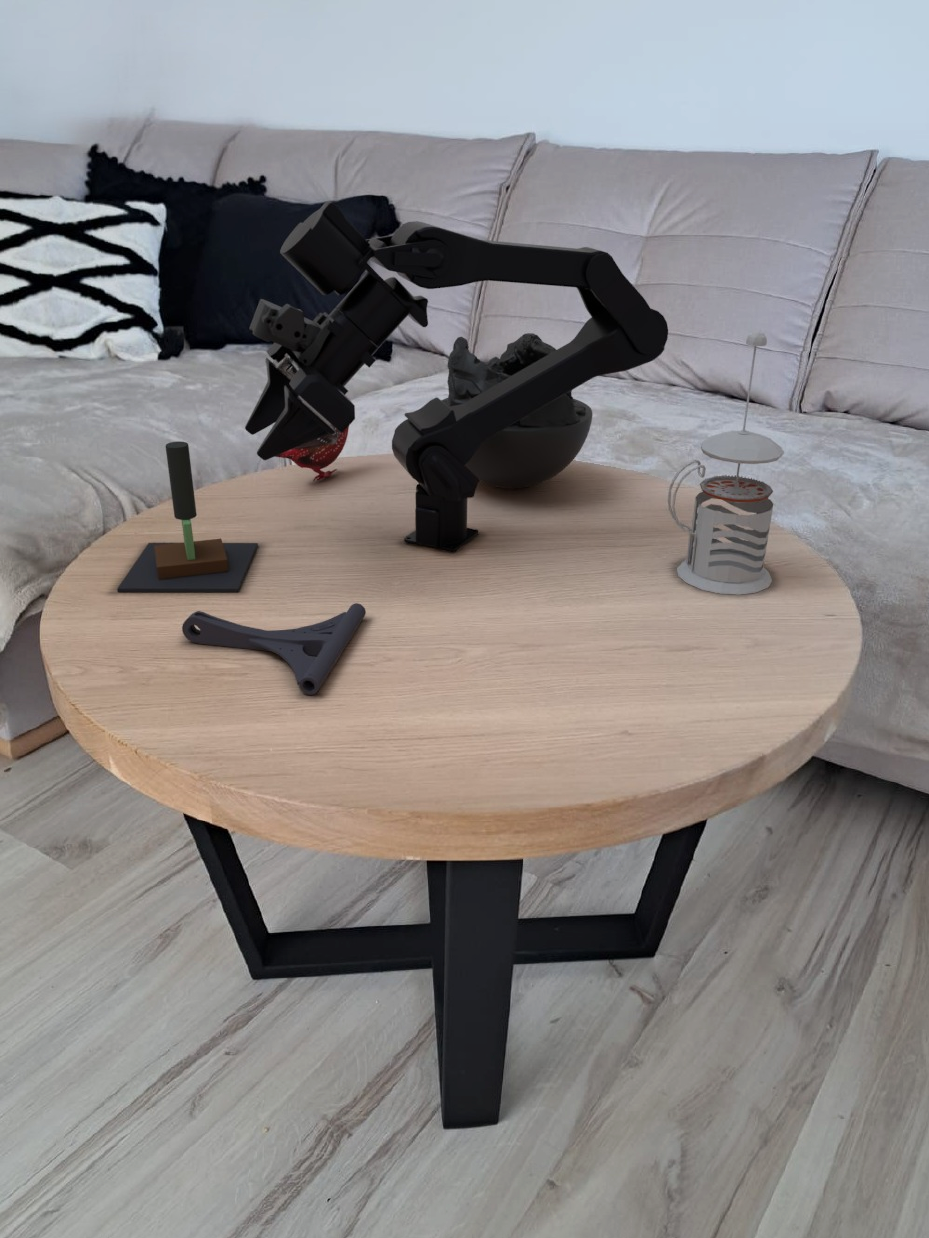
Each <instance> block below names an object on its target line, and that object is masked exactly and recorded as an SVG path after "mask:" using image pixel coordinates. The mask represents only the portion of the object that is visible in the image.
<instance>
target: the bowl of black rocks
mask: <svg viewBox="0 0 929 1238" xmlns="http://www.w3.org/2000/svg"><path fill="white" fill-rule="evenodd" d="M452 346H453V347H452V351H451V352H449V356H448V358H447V359H448V360H447V369H448V374H447V386H448V388H447V389H448V395H447V397H445V398H443V399H440V400H441V401H442V402H444V403H445V404H446V405H447V406H448V407H451V406H456V405H460V404H463V403H465V402H467V401H469V400H470V399H472V398H474V397H476V396H477V395H479V394H481V393H483V392H484V391H486V390H488V389H490V388H491V387H493V386H495V385H497V384H498V383H500V382H502V381H503V380H505V379H507V378H509V377H510V376H512V375H514V374H516V373H517V372H519V371H521V370H523V369H524V368H526V367H528V366H530V365H531V364H533V363H535V362H537V361H538V360H540V359H542V358H543V357H545V356H547V355H549V354H550V353H552V352H554V351H556V350H557V348H556V347H554V346H553V345H551V344H548V343H547V342H544V341H543V340H542V339H541V337H540V336H538V334H536V333H534V332H529V333H528V332H527V333H524V334H522V335H521V336H520V337H518V338H517V339H516V340H515V341H512V342H510V343H508V344H507V346H506V349H505V351H504V352H503V353H502V354H501V355H500V357H498V356H494V357H492V358H490V359H489V361H488V362H487V363H485V362H484V361H481V360H480V359H479V358H478V357H477V356H476V355H475V354H473V353H472V352H471V351H470V349H469V348H470V347H469V341H468V339H467V338H465V337H463V336H458V337H456V339H455V341H454V342H453V345H452ZM572 391H573V390H571V391H569V392H568V393H566V394H564V395H563V396H561V397H559V398H557V399H556V400H554V401H552V402H550V403H549V404H547V405H545V406H544V407H542V408H540V409H538V410H537V411H535V412H533V413H531V414H530V415H528V416H526V417H525V418H523V419H521V420H519V421H518V422H516V423H514V424H512V425H511V426H509V427H507V428H505V429H504V430H502V431H500V432H499V433H497V434H495V435H493V436H492V437H490V438H488V439H487V440H486V441H484V442H483V443H482V445H481V446H480V447H479V449H478V450H477V451H476V453H475V454H474V455H473V457H472V458H471V459H470V461H469V462H468V463H467V464H466V465H465V466H466V467H467V468H468V469H469V470H470V471H471V472H472V473H473V474H474V475H475V476H476V477H477V478H478V479H479V482H481V483H483V484H486V485H488V486H492V487H494V488H499V489H500V488H501V489H524V488H529V487H534V486H536V485H540V484H542V483H545V482H547V481H549V480H550V479H553V478H554V477H556V476H557V475H558V474H560V473H561V472H563V471H564V470H565V469H566V468H567V467H568V466H569V465H570V464H571V463H572V462H573V461H574V460H575V459H576V457H577V456H578V455H579V453H580V451H581V449H582V448H583V446H584V444H585V443H586V440H587V438H588V435H589V433H590V429H591V425H592V420H593V415H594V414H593V409H592V408H591V407H590V406H589V405H588V404H586V403H585V402H583V401H581V400H579V399H577V398H574V396H572Z"/></svg>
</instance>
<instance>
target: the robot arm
mask: <svg viewBox="0 0 929 1238" xmlns="http://www.w3.org/2000/svg"><path fill="white" fill-rule="evenodd" d="M279 253H280V255H281V256H282V257H284V259H286V260H287V262H289V264H291V266H293V267H294V268H295V269H296V270H297V271H298V272H299V273H300V274H301V275H302V276H303V277H304V278H305V279H306V280H307V281H308V282H309V283H310V284H311V285H312V286H313V287H314V288H315V289H316V290H317V291H318V292H319V293H321V294H322V296H327V295H330V294H332V293H333V292H334V293H335V294H336V295H337V296H342V295H344V294H346V293H347V292H348V291H349V292H348V293H347V294H346V295H345V296H344V297H343V298H342V300H341V301H340V302H339V303H338V304H337V305H336V307H335V308H333V310H332V311H331V312H330V313H329V314H328V313H327V312H325V311H324V312H319V314H317V316H315V318H314V319H313V320H311V319H309V318H308V317H305V314H304V311H303V310H302V309H301V308H296V307H293V306H291V304H289V303H286V304H284V305H283V306H280V305H278V304H275V303H273V302H271V301H268V300H267V299H263V298H259V301H258V303H257V304H258V305H257V307H256V308H255V309H256V310H255V312H254V315H253V317H252V320H251V323H250V324H249V327H248V328H249V331H252V335H253V336H254V337H256V338H258V339H259V340H262V341H264V342H267V343H269V342H273V344H272V345H270V346H269V348H268V349H267V350H266V353H267V355H268V356H269V357H270V358H271V359H272V360H273V361H271V360H270V359H269V358H268V357H265V359H264V360H265V361H264V362H265V365H266V373H267V375H266V376H267V382H266V384H265V386H264V388H263V390H262V393H261V394H260V396H259V399H258V401H257V402H256V404H255V406H254V408H253V410H252V412H251V413H250V416H249V417H248V418H249V419H248V420H247V421H246V424H245V426H244V430H246V432H247V433H248V434H249V435H251V436H252V435H253V436H254V435H256V434H257V433H260V432H261V431H262V430H265V429H267V428H268V427H270V426H272V427H271V428H270V430H269V431H268V433H267V434H266V436H265V437H264V438H263V441H262V442H261V444H260V446H259V448H258V449H257V451H256V455H257V456H258V457H259V458H260V459H261V460H263V461H268V460H270V459H272V458H276V457H275V456H277V455H279V454H282V453H284V452H286V451H288V450H291V449H293V448H295V447H298V446H300V445H303V444H305V443H308V442H310V441H313V440H315V439H318V438H321V437H323V436H326V435H329V434H331V435H333V434H335V433H336V431H335V430H334V429H333V427H332V426H331V425H333V426H334V427H335V428H336V429H337V430H339V431H340V432H341V433H343V432H344V431H345V429H346V428H347V427H348V426H349V427H350V425H351V424H352V423H353V422H354V421H355V420H356V412H355V411H356V405H355V404H354V403H353V402H352V400H350V399H349V397H348V396H347V393H348V392H349V390H348V389H347V388H346V387H345V386H346V385H347V384H348V383H349V382H350V381H351V380H352V379H353V378H354V376H355V375H356V374H357V373H358V372H359V371H360V370H361V368H362V367H363V366H364V365H365V366H367V368H371V366H373V364H374V363H375V362H376V358H374V357H373V356H374V354H375V353H376V352H377V351H378V350H379V348H380V347H381V346H382V345H383V344H384V343H385V342H386V341H387V340H388V338H389V337H390V336H391V335H392V334H393V333H394V332H395V330H397V328H398V327H399V326H400V325H401V324H402V323H403V321H404V320H406V318H407V317H409V318H410V319H411V320H412V321H413V322H414V323H415V324H417V325H419V326H421V327H422V328H426V327H428V325H429V319H428V304H429V299H428V298H426V297H424V296H423V295H413V294H412V293H411V292H410V291H409V290H408V289H407V288H406V287H405V286H404V285H403V284H402V283H401V282H400V281H399V280H398V278H396V277H395V276H392V277H388V278H386V279H383V278H382V276H381V275H380V274H379V273H377V272H376V271H375V269H374V268H373V267H371V266H370V264H369V263H368V262H369V261H370V262H373V263H374V264H376V265H378V266H380V267H382V268H383V269H385V270H387V271H389V272H393V273H396V274H397V275H398V276H399V277H401V278H403V280H406V281H408V282H410V283H412V284H413V285H415V286H417V287H419V288H423V289H426V290H435V289H444V288H453V287H454V288H455V287H460V286H465V285H469V284H472V283H473V284H474V283H479V282H486V281H487V282H489V281H490V282H502V283H503V282H504V283H513V284H514V283H515V284H526V285H527V284H529V285H541V286H554V287H565V288H576V290H577V291H578V293H579V296H580V298H581V300H582V302H583V305H584V307H585V309H586V311H587V312H588V314H589V315H590V318H589V319H588V320H587V321H586V322H585V323H584V324H583V326H582V327H581V329H579V331H578V332H577V334H576V335H575V337H574V338H573V339H572V340H570V341H569V342H568V343H566V344H564V345H563V346H560V347H559V348H556V351H554V352H552V353H550V354H549V355H547V356H545V357H543V358H542V359H540V360H538V361H537V362H535V363H533V364H531V365H530V366H528V367H526V368H524V369H523V370H521V371H519V372H517V373H516V374H514V375H512V376H510V377H509V378H507V379H505V380H503V381H502V382H500V383H498V384H497V385H495V386H493V387H491V388H490V389H488V390H486V391H484V392H483V393H481V394H479V395H477V396H476V397H474V398H472V399H470V400H469V401H467V402H465V403H463V404H460V405H456V406H451V407H448V406H447V405H446V404H445V403H444V402H442V401H441V400H442V399H440V397H437V396H435V397H434V398H431V400H429V401H427V402H426V403H425V404H424V405H423V406H422V407H420V408H418V409H416V410H413V411H409V412H405V413H404V417H405V418H406V419H404V420H403V421H402V422H400V424H398V425H397V426H396V427H395V429H394V434H393V436H392V439H391V450H392V453H393V456H394V458H395V459H396V460H397V462H398V463H399V464H400V465H401V466H402V468H403V469H404V470H405V471H406V472H407V474H409V476H410V477H411V478H412V479H413V480H414V481H416V482H417V484H416V485H415V509H414V515H415V516H414V520H415V523H414V524H415V525H414V527H415V529H414V531H412V532H411V533H409V534H408V535H406V536H405V537H404V538H403V542H404V543H405V544H408V545H413V546H419V547H423V548H427V549H433V550H437V551H442V552H447V553H457V551H459V550H460V549H461V548H463V547H464V546H466V545H467V544H468V543H470V542H471V541H473V540H474V539H475V538H476V537H478V536H479V529H476V528H471V527H468V499H471V498H474V496H475V493H476V491H477V488H478V485H479V482H480V481H479V479H478V478H477V477H476V476H475V475H474V474H473V473H472V472H471V471H470V470H469V469H468V468H467V467H466V466H465V465H466V464H467V463H468V462H469V461H470V459H471V458H472V457H473V455H474V454H475V453H476V451H477V450H478V449H479V447H480V446H481V445H482V443H483V442H484V441H486V440H487V439H488V438H490V437H492V436H493V435H495V434H497V433H499V432H500V431H502V430H504V429H505V428H507V427H509V426H511V425H512V424H514V423H516V422H518V421H519V420H521V419H523V418H525V417H526V416H528V415H530V414H531V413H533V412H535V411H537V410H538V409H540V408H542V407H544V406H545V405H547V404H549V403H550V402H552V401H554V400H556V399H557V398H559V397H561V396H563V395H564V394H566V393H568V392H569V391H571V390H572V391H573V390H575V389H576V388H578V387H580V386H582V385H584V384H585V383H587V382H589V381H590V380H592V379H594V378H597V377H600V376H605V375H611V374H616V373H620V372H627V371H629V370H632V369H635V368H638V367H640V366H643V365H646V364H648V363H651V362H652V361H655V360H656V359H658V358H659V357H660V356H661V355H662V354H663V352H664V351H665V349H666V344H667V342H668V341H667V340H668V336H669V326H668V322H667V321H666V318H665V315H663V314H662V313H661V312H660V311H658V310H656V309H653V308H652V307H650V305H649V303H648V302H647V300H646V299H645V298H644V296H643V295H642V294H641V293H640V292H639V290H638V289H637V288H636V287H635V286H634V285H633V283H631V282H630V280H629V279H628V278H627V277H626V276H625V275H624V274H623V272H622V270H621V269H620V267H619V265H618V264H617V263H616V261H615V259H614V257H613V256H612V255H611V254H610V253H609V252H607V251H604V250H600V249H596V248H593V247H588V246H583V247H579V248H575V247H574V248H573V247H566V246H565V247H563V246H552V245H542V244H531V243H521V242H512V241H511V242H509V241H499V240H489V239H488V240H487V239H479V238H477V237H473V236H470V235H465V234H464V233H459V232H456V231H454V230H450V229H448V228H443V227H440V226H436V225H433V224H430V223H427V222H423V221H418V220H414V221H413V220H412V221H407V222H405V223H403V224H402V225H401V226H399V227H398V228H397V229H396V230H395V231H394V233H393V234H391V235H386V236H385V235H384V236H379V237H372V236H371V238H367V239H366V238H364V236H363V235H362V234H361V233H360V232H359V231H358V230H357V228H355V227H354V226H353V225H352V224H351V223H350V222H349V221H348V219H347V218H346V216H345V214H344V213H343V211H342V210H341V209H340V208H339V207H338V206H337V205H336V204H335V203H334V202H332V201H329V200H327V201H325V202H324V203H323V205H322V206H321V207H320V208H319V209H317V210H316V211H314V212H312V213H311V214H310V215H309V216H308V217H307V218H306V219H305V220H304V221H303V222H302V221H301V222H299V223H298V224H297V225H296V226H295V228H293V230H292V231H291V232H290V234H289V235H288V236H287V238H286V239H285V240H284V242H283V244H282V246H281V248H280V250H279ZM363 274H364V275H363ZM362 275H363V276H362ZM350 289H351V290H350Z"/></svg>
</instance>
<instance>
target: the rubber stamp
mask: <svg viewBox="0 0 929 1238" xmlns="http://www.w3.org/2000/svg"><path fill="white" fill-rule="evenodd" d="M165 453H166V462H167V468H168V469H167V470H168V476H169V483H170V484H169V485H170V493H171V501H172V508H173V515H174V516H173V517H174V518H175V519H176V520H180V521H181V528H182V535H183V542H173V543H174V544H165V545H156V546H154V549H155V557H156V565H157V572H158V579H167V578H176V577H185V576H193V575H202V574H211V573H219V572H228V562H227V557H226V554H225V550H224V547H223V543H224V542H223V540H222V538H212V539H204V540H194V533H193V526H192V521H191V520H192V519H194V518H196V517H197V507H196V499H195V491H194V481H193V472H192V464H191V456H190V447H189V443H188V442H186V441H178V440H177V441H170V442H167V443H165Z"/></svg>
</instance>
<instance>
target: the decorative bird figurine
mask: <svg viewBox="0 0 929 1238" xmlns="http://www.w3.org/2000/svg"><path fill="white" fill-rule="evenodd" d="M331 426H332V427H333V429H334V430H335V431H336V433H335V434H333V435H331V434H329V435H326V436H323V437H321V438H318V439H315V440H313V441H310V442H308V443H305V444H303V445H300V446H298V447H295V448H293V449H291V450H288V451H286V452H284V453H282V454H279V455H277V456H275V457H274V458H280V459H281V458H283V459H288V460H290V461H292V462H293V463H294V464H296V466H298V467H299V468H301V469H303V468H304V469H310V470H312V472H314V473H316V474H318V475H316V476H315V477H314V478H313V480H312V482H315V481H320V480H322V479H325V478H330V476H331V475H332V474H333V473H334V472H336V471H337V470H338V469H337V468H334V469H333V470H327V471H323V470H324V469H326V468H327V467H329V466H331V464H333V463H334V462H335V461H336V460H337V458H338V457H339V456H340V454H341V453H342V452H343V450H344V447H345V445H346V442H347V439H348V436H349V428H350V425H349V426H348V427H347V428H346V429H345V431H344V432H343V433H341V432H340V431H339V430H337V429H336V428H335V427H334V426H333V425H331ZM322 469H323V470H322Z"/></svg>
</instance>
